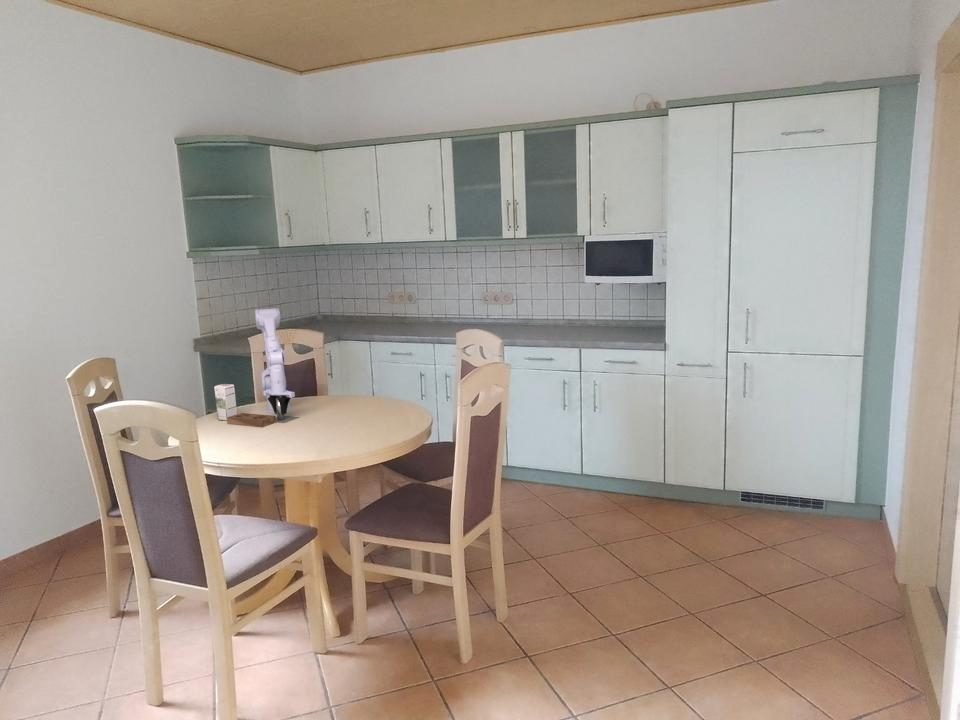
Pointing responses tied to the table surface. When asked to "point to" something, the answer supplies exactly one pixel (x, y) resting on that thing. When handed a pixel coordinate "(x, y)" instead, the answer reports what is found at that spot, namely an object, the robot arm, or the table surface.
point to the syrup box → (225, 401)
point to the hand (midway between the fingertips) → (280, 413)
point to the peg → (279, 410)
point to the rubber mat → (286, 419)
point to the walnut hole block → (251, 420)
